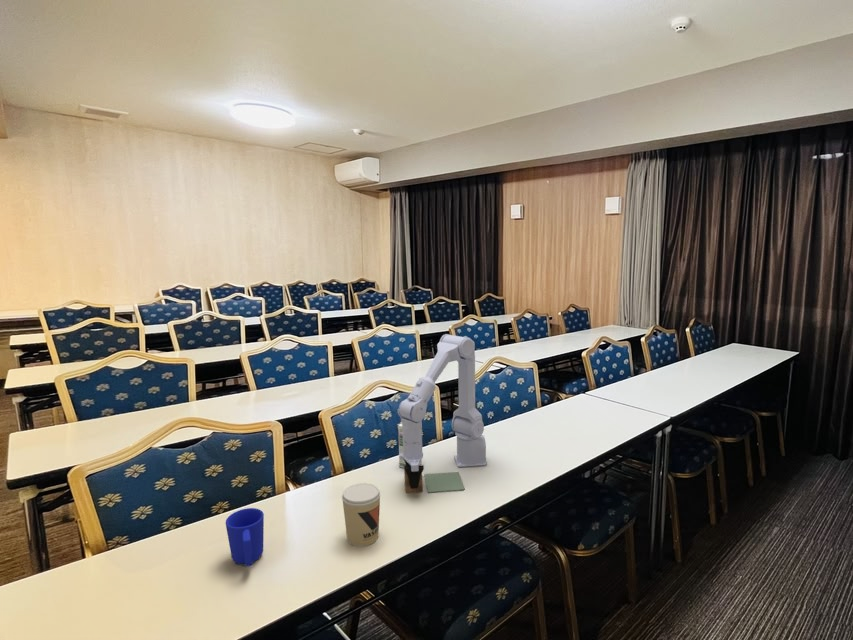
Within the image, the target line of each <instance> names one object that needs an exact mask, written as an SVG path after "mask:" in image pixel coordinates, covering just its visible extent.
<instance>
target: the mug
mask: <svg viewBox="0 0 853 640" xmlns="http://www.w3.org/2000/svg"><path fill="white" fill-rule="evenodd" d="M264 517H265V514H264V511H262V509H259V508H255V507H248V508H244V509H243V508H242V509H239V510H237V511H234V512H232V513H231V514H230V515H229V516H228V517H227V518H226V520H225V528H226V534H227V538H228V540H227V541H228V543H229V544H228V545H229V549H230V550H229V551H230V555H231V558H232V561H233V562H234V563H235V564H238V565H245V567H250V566H253V565H252V564H253V563H254V562H256V561H257V560H259V559H260V558H261V556H262V554H263V552H264V535H265V533H264V523H265V521H264V519H265V518H264Z"/></svg>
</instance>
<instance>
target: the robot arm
mask: <svg viewBox="0 0 853 640" xmlns="http://www.w3.org/2000/svg"><path fill="white" fill-rule="evenodd" d="M436 346H437V347H436V348H437V352H436V354H435V356H434V358H433V360H432V362H431V364H430V366H429V368H428V370H427V372H426V374H425V376H422V377H420V378H418V380H417V381H416V382H415V385H414V387H413V388H412V390H411V392H410V393H409V395H408V397H407V398H405V399H404V400H402V401H401V402H400V403H399V406H398V409H397V414H398V416H399V417H400V423H402V431H403V453H400V454H399V453H398V457H399V458H403V459H404V461H405V463H406V465H404V468H403V469H405V472H406V473H407V475H408V478H409V484H410V487H411V489H414V488H418V485H419V480H420V476H421V473H422V474H423V471H424V470H425V469H424V468H425V466H424V464H423V465H421V464H420V465H419V463H420V461H421V459H422V460H423V458H424V453H423V422H422V421H423V419H424V418H425V416H426V415H427V408H428V403H429V401H430V399H431V397H432V396H433V395H434V392H435V391H436V389H437V387H436V381H437V380H438V379H439V377H440V376H441V374H442V373H443V371H444V369H446V367H447V365H448V364H449V363H451V362H457V363H458V364H457V365H458V366H457V368H458V369H457V371H458V373H457V374H458V375H457V376H458V377H457V378H458V380H457V381H458V408H457V409H455V410H454V411H453V413H452V415H453V416H452V420H451V429H452V431H453V432H454V435H455V436H456V455H454V457H453V458H454V461H455V463H456V465H457V467H458V468H464V467H465V468H468V467H478V466H479V467H481V466H487V445H486V444H487V443H486V438H485V437H486V436H485V435H484V434H483V432H484V431H485V425H484V424H485V423H484V422H483V416H482V414H481V412H479V410H478V409H477V408H476V355H475V354H476V353H475V349H476V345H475V341H474V340H472V338H470V337H468V336H459V335H452V334H450V333H445V334H443V335H441V337H440V339H439V342H438V343H437V345H436ZM399 458H398V459H399ZM418 465H419V466H418Z"/></svg>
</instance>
